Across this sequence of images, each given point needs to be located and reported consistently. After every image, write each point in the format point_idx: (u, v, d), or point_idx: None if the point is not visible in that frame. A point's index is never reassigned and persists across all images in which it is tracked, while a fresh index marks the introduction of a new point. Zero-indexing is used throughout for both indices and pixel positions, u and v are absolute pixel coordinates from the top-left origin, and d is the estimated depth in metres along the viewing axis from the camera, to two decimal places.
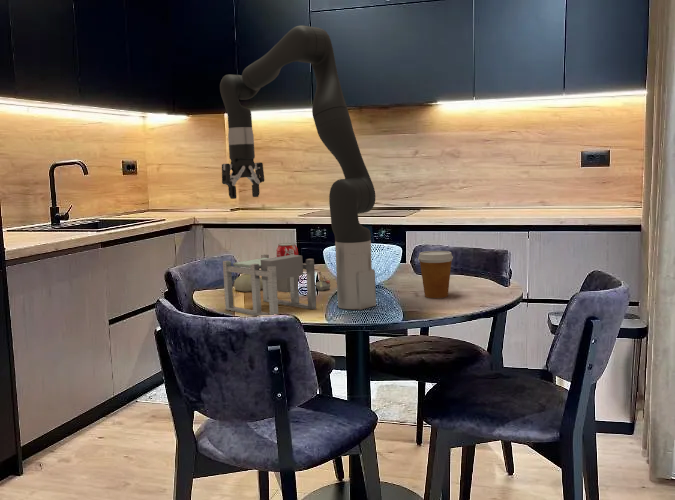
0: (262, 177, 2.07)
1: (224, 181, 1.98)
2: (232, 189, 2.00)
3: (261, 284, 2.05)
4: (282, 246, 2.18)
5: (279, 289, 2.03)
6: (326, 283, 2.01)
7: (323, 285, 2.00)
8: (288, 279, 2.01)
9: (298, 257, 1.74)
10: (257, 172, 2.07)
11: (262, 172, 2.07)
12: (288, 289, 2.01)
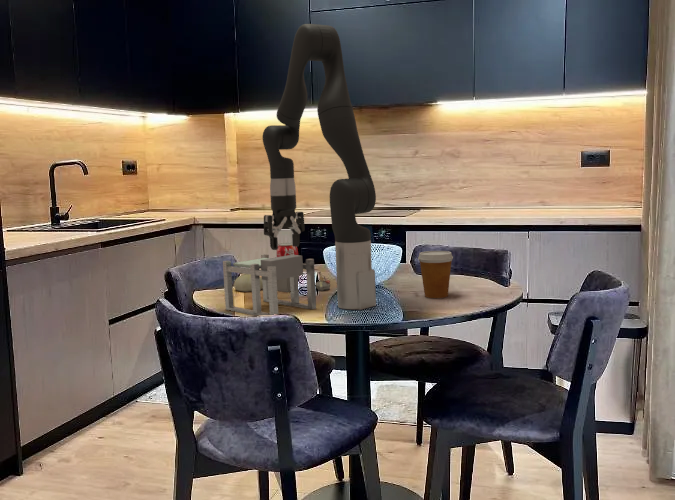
0: (303, 226, 2.06)
1: (266, 233, 1.97)
2: (274, 240, 1.98)
3: (261, 284, 2.05)
4: (282, 246, 2.18)
5: (279, 289, 2.03)
6: (326, 283, 2.01)
7: (323, 285, 2.00)
8: (288, 279, 2.01)
9: (298, 257, 1.74)
10: (297, 221, 2.06)
11: (303, 222, 2.05)
12: (288, 289, 2.01)
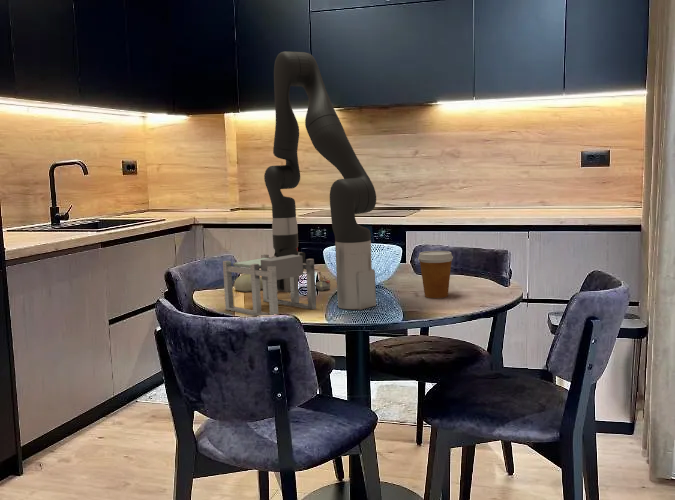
0: None
1: None
2: (280, 281, 2.01)
3: (261, 284, 2.05)
4: None
5: None
6: (326, 283, 2.01)
7: (323, 285, 2.00)
8: (288, 279, 2.01)
9: (298, 257, 1.74)
10: None
11: None
12: (288, 289, 2.01)
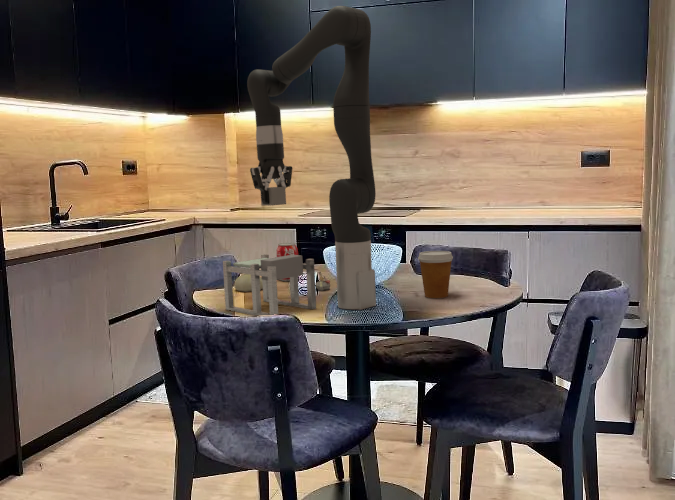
0: (289, 181, 1.94)
1: (256, 186, 1.88)
2: (265, 194, 1.89)
3: (261, 284, 2.05)
4: (282, 246, 2.18)
5: None
6: (326, 283, 2.01)
7: (323, 285, 2.00)
8: (273, 191, 1.89)
9: (298, 257, 1.74)
10: (285, 176, 1.95)
11: (290, 177, 1.94)
12: (273, 202, 1.89)
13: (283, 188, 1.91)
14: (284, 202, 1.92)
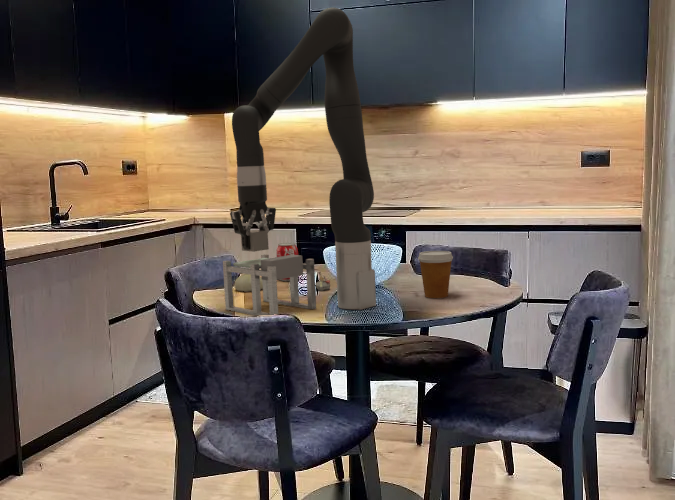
0: (272, 224, 1.81)
1: (237, 230, 1.75)
2: (246, 239, 1.76)
3: (261, 284, 2.05)
4: (282, 246, 2.18)
5: None
6: (326, 283, 2.01)
7: (323, 285, 2.00)
8: (255, 236, 1.76)
9: (298, 257, 1.74)
10: (267, 218, 1.82)
11: (273, 219, 1.82)
12: (255, 248, 1.76)
13: (265, 232, 1.78)
14: (266, 247, 1.79)
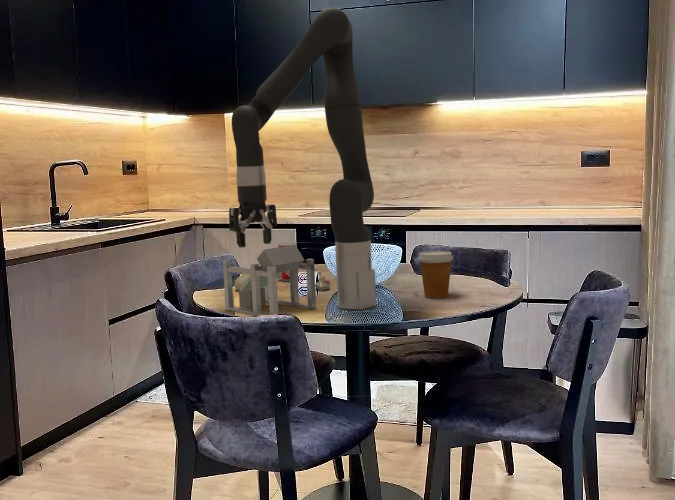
0: (275, 221, 1.82)
1: (232, 228, 1.74)
2: (241, 237, 1.75)
3: None
4: (282, 246, 2.18)
5: (249, 303, 1.80)
6: (326, 283, 2.01)
7: (323, 285, 2.00)
8: None
9: (292, 246, 1.75)
10: (269, 215, 1.82)
11: (275, 216, 1.82)
12: None
13: None
14: (261, 287, 1.82)
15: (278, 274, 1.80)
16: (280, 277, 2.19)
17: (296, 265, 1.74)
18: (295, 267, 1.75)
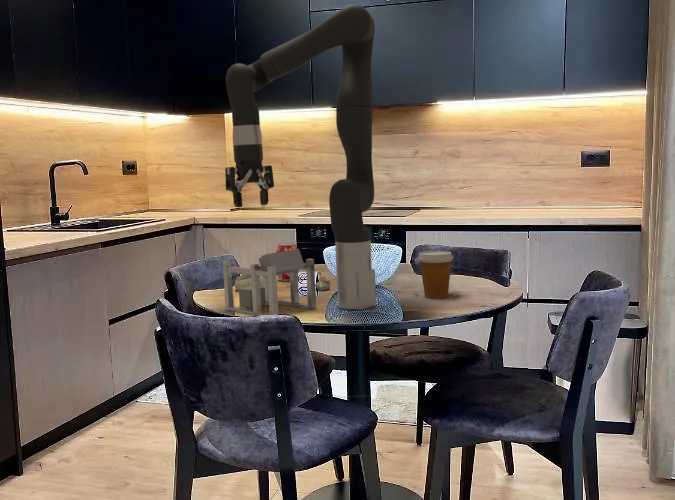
0: (271, 182, 1.81)
1: (228, 187, 1.72)
2: (237, 196, 1.73)
3: (262, 284, 2.05)
4: (282, 246, 2.18)
5: (249, 303, 1.80)
6: (326, 283, 2.01)
7: (323, 285, 2.00)
8: (243, 288, 1.82)
9: (295, 250, 1.74)
10: (266, 176, 1.81)
11: (271, 177, 1.81)
12: (249, 289, 1.80)
13: None
14: (261, 287, 1.82)
15: None
16: (280, 277, 2.19)
17: (295, 270, 1.75)
18: (294, 271, 1.76)
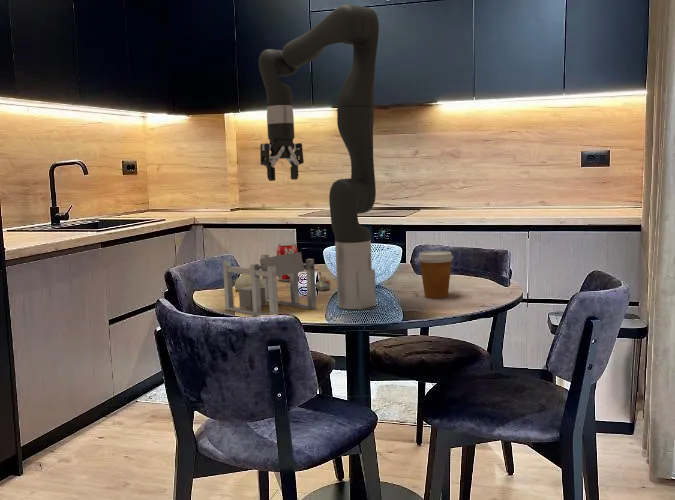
0: (301, 158, 1.97)
1: (263, 162, 1.88)
2: (271, 170, 1.89)
3: (262, 284, 2.05)
4: (282, 246, 2.18)
5: (249, 303, 1.80)
6: (326, 283, 2.01)
7: (323, 285, 2.00)
8: (243, 288, 1.82)
9: (297, 253, 1.74)
10: (296, 153, 1.97)
11: (301, 153, 1.97)
12: (249, 289, 1.80)
13: None
14: (261, 287, 1.82)
15: None
16: (280, 277, 2.19)
17: None
18: None
